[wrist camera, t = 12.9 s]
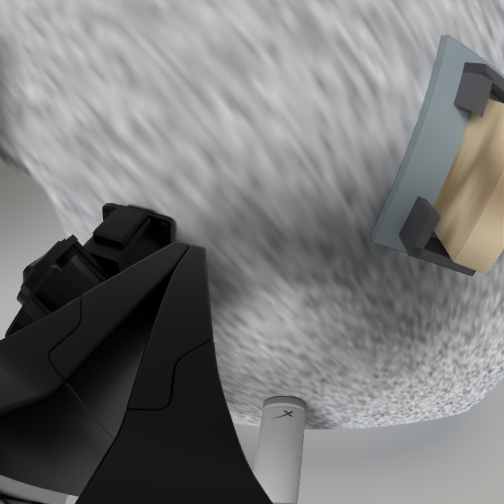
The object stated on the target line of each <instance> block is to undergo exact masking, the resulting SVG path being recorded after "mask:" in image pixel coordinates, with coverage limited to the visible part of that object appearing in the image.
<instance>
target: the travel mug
mask: <svg viewBox="0 0 504 504" xmlns="http://www.w3.org/2000/svg"><path fill="white" fill-rule="evenodd" d="M305 407H306V405H305V403H304V402H303V401H301V400H300V399H297V398H294V397H287V396H279V397H273V398H270V399H267V400H266V401H265V402H264V406H263V414H262V420H261V427H260V434H259V441H258V447H257V454H256V460H255V466H254V472H253V473H254V475H255V477H256V478H257V480H258V481H259V483H260V484H261V486H262V488H263V489H264V491H265V492H266V494H267V495H268V496H269V498H270V499H271V501H272V502H273V504H297V502H298V493H299V484H300V474H301V464H302V452H303V438H304V424H305Z"/></svg>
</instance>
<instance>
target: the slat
mask: <svg viewBox="0 0 504 504" xmlns="http://www.w3.org/2000/svg"><path fill="white" fill-rule="evenodd" d="M433 208H434V209H435V210H436V212H437V213H438V214H439V215H440V217H441V218H440V220H439V222H438V224H437V225H436V227H435V229H434V232H435V234H436V235H437V237H438V238H439V240H440V241H441V243H442V244H443V246H444V247H445V249H446V250H447V252H448V254H449V255H450V257H451V259H452V260H453V262H455V263H457V264H460V265H463V266H465V267H468V268H470V269H473V270H476V271H478V272H481V273H483V274H486V275H487V273H488V272H489V270H490V269H491V267H492V266H493V264H494V263H495V261H496V260H497V258H498V257H499V255H500V254H501V252H502V250H503V249H504V104H503V103H500V102H497V101H494V100H491V99H488V102H487V105H486V108H485V112H484V115H483V117H481V116H478V115H476V114H473V113H471V116H470V119H469V122H468V125H467V128H466V131H465V133H464V136H463V139H462V141H461V144H460V147H459V149H458V152H457V154H456V157H455V159H454V161H453V164H452V166H451V168H450V171H449V173H448V175H447V177H446V180H445V182H444V184H443V186H442V188H441V190H440V192H439V195H438V197H437V199H436V201H435V203H434V205H433Z"/></svg>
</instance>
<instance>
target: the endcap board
mask: <svg viewBox="0 0 504 504" xmlns="http://www.w3.org/2000/svg"><path fill="white" fill-rule="evenodd" d="M488 99H491V100H494V101H497V102H500V103H503V104H504V75H503V74H502V73H501V72H499V71H498V70H497V69H496V68H495V67H493V66H492V65H491V64H490V63H488V62H487V61H486V60H484V59H483V58H482V57H480V56H479V55H478V54H476V53H475V52H474V51H472V50H471V49H469V48H468V47H466V46H465V45H464V44H462V43H461V42H459V41H457V40H456V39H454V38H453V37H451V36H450V35H443V36H441V40H440V45H439V49H438V53H437V57H436V61H435V65H434V69H433V72H432V76H431V79H430V83H429V86H428V90H427V93H426V96H425V100H424V103H423V106H422V109H421V112H420V115H419V118H418V121H417V124H416V127H415V130H414V132H413V135H412V138H411V141H410V143H409V146H408V149H407V151H406V154H405V157H404V159H403V162H402V164H401V167H400V169H399V172H398V174H397V177H396V179H395V181H394V184H393V186H392V188H391V191H390V193H389V195H388V198H387V200H386V202H385V204H384V207H383V209H382V211H381V213H380V215H379V218H378V220H377V222H376V224H375V226H374V228H373V230H372V232H371V234H370V236H371V239H372V241H373V243H376V244H380V245H383V246H386V247H389V248H393V249H396V250H399V251H402V252H406V253H408V255H409V256H412V257H415V258H418V259H421V260H424V261H427V262H431V263H434V264H437V265H440V266H443V267H446V268H449V269H452V270H455V271H458V272H461V273H463V274H466V275H469V276H473V275H474V273H475V272H476V270H473V269H470V268H468V267H465V266H463V265H460V264H457V263H455V262H453V260H452V259H451V257H450V255H449V254H448V252H447V250H446V249H445V247H444V246H443V244H442V243H441V241H440V240H439V238H438V237H437V235H436V234H435V232H434V229H435V227H436V225H437V224H438V222H439V220H440V218H441V217H440V215H439V214H438V213H437V212H436V210H435V209H434V208H433V205H434V203H435V201H436V199H437V197H438V195H439V192H440V190H441V188H442V186H443V184H444V182H445V180H446V177H447V175H448V173H449V171H450V168H451V166H452V164H453V161H454V159H455V157H456V154H457V152H458V149H459V147H460V144H461V141H462V139H463V136H464V133H465V131H466V128H467V125H468V122H469V119H470V116H471V113H473V114H476V115H478V116H481V117H483V115H484V112H485V108H486V105H487V102H488Z"/></svg>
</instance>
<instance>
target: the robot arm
mask: <svg viewBox="0 0 504 504" xmlns="http://www.w3.org/2000/svg"><path fill="white" fill-rule="evenodd" d="M107 208H108V209H109V211H108V209H107ZM102 212H103V222H102V223H101V224H100V225H99V226H98V227H97V228H96V229H95V230H94V231H93V236H92V237H91V238H90V239H89V240H88V241H87V242H86V243H85V244H84V245H83V246H82V245H81V244H80V243H79V242H78V239H77V238H76V237H75V236H74V235H72V236H70V237H69V238H68V239H67V240H66V239H64V240H62V241H58V242H57V243H56V244H55V245H54V246H53V247H52V248H51V249H50V250H49V251H48V252H47V253H46V254H45V255H43V256H42V257H40V258H39V259H37V260H35V261H34V262H32V263H31V264H30V265H28V266H27V267H26V268H25V269H24V271H23V284H22V286H21V290H20V292H19V294H18V296H17V300H18V301H19V302H20V303H21V304H22V308H21V309H20V311H19V312H18V314H17V316H16V317H15V318H14V320H13V322H12V323H11V325H10V327H9V328H8V330H7V332H6V334H5V338H4V339H2V340H0V504H65V502H66V499H67V496H68V495H73V496H79V498H78V500H77V501H76V503H75V504H273V502H272V501H271V499H270V498H269V496H268V495H267V494H266V492H265V491H264V489H263V488H262V486H261V484H260V483H259V481H258V480H257V478H256V477H255V475H254V473H253V472H252V470H251V468H250V466H249V464H248V462H247V460H246V457H245V455H244V453H243V450H242V448H241V445H240V443H239V439H238V437H237V434H236V431H235V428H234V425H233V422H232V418H231V415H230V412H229V409H228V406H227V403H226V400H225V396H224V393H223V389H222V385H221V381H220V377H219V373H218V367H217V361H216V354H215V345H214V341H213V340H214V338H213V328H212V318H211V308H210V298H209V286H208V274H207V262H206V249H205V248H204V247H200V246H196V245H191V246H190V244H188V243H184V242H180V241H175V242H173V243H172V232H173V221H172V220H171V219H170V218H169V217H166V216H161V215H157V214H153V213H149V212H146V211H144V210H139V209H135V208H131V207H126V206H122V205H120V206H119V205H114V204H110V203H107V204H105V205H104V206H103V208H102ZM164 222H166V223H167V224H168V225H166V224H165V223H164Z"/></svg>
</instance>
